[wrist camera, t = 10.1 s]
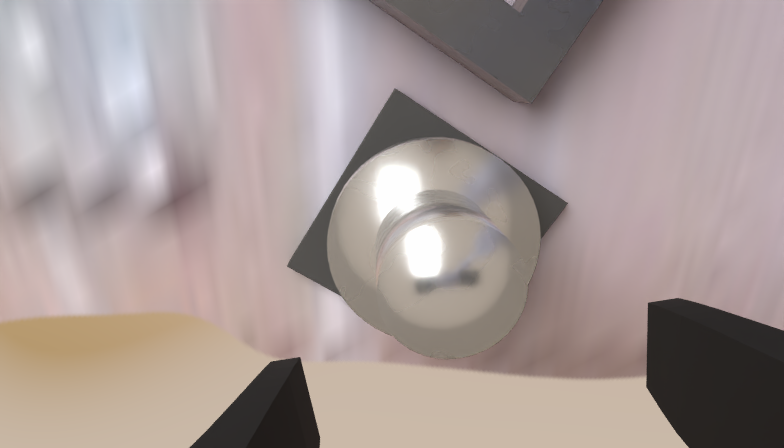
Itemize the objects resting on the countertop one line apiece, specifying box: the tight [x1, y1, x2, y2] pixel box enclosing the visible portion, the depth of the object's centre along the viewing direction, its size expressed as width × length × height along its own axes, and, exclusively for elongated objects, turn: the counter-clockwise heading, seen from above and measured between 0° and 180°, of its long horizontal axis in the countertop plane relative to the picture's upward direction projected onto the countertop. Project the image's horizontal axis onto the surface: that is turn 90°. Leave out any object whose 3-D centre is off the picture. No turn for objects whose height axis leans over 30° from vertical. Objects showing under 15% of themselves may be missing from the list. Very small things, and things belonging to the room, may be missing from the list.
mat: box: [287, 89, 568, 296], centre depth 18 cm, size 8×8×1 cm
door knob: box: [327, 137, 541, 359], centre depth 15 cm, size 7×7×6 cm
